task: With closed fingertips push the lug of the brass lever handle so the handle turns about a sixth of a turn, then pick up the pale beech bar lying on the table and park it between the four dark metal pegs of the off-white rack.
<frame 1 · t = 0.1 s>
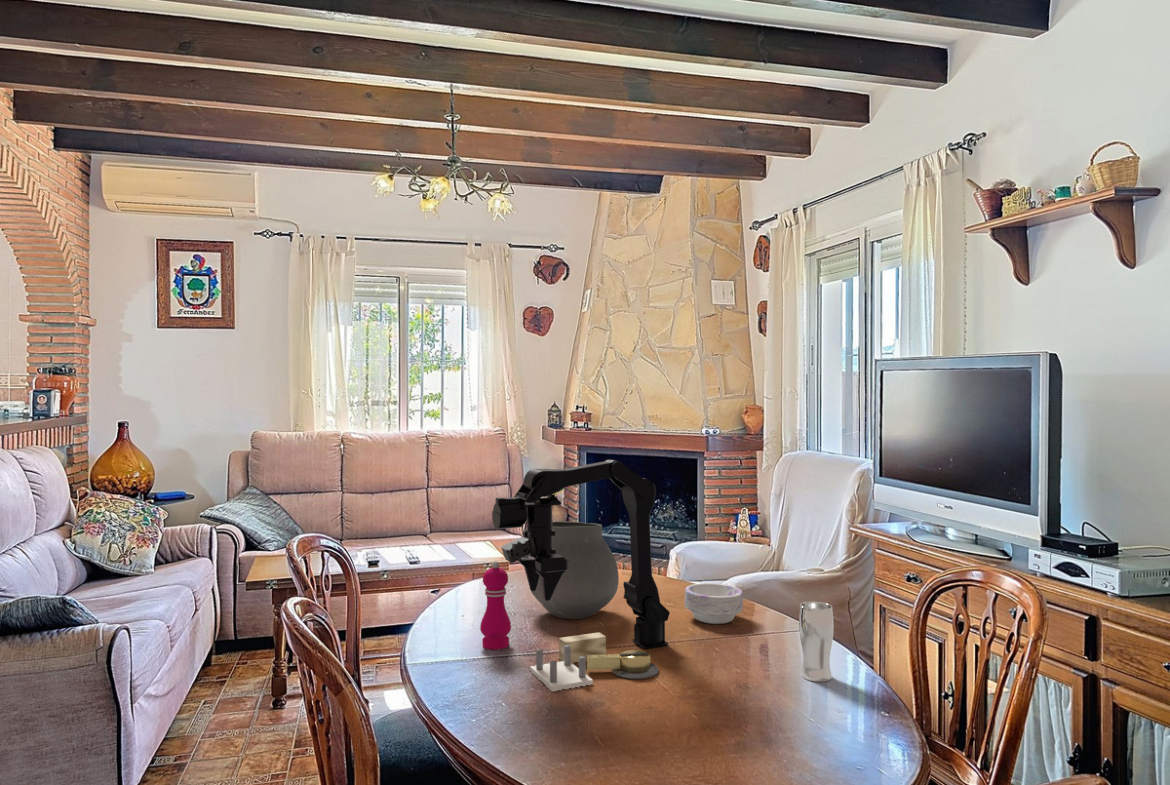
hand: (540, 595, 177), 15 cm above the table, tool pointing down, fingers open, 9 cm apart
pepper mill: (495, 646, 188), on the table
beech bar: (582, 659, 179), on the table
peg rack: (560, 677, 167), on the table
ceramic pot: (573, 615, 214), on the table
paper bowls: (713, 620, 209), on the table
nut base: (634, 671, 170), on the table
brass lever handle: (618, 660, 170), point 2 cm above the table, hinge at 0.0°
beer glass: (816, 677, 166), on the table
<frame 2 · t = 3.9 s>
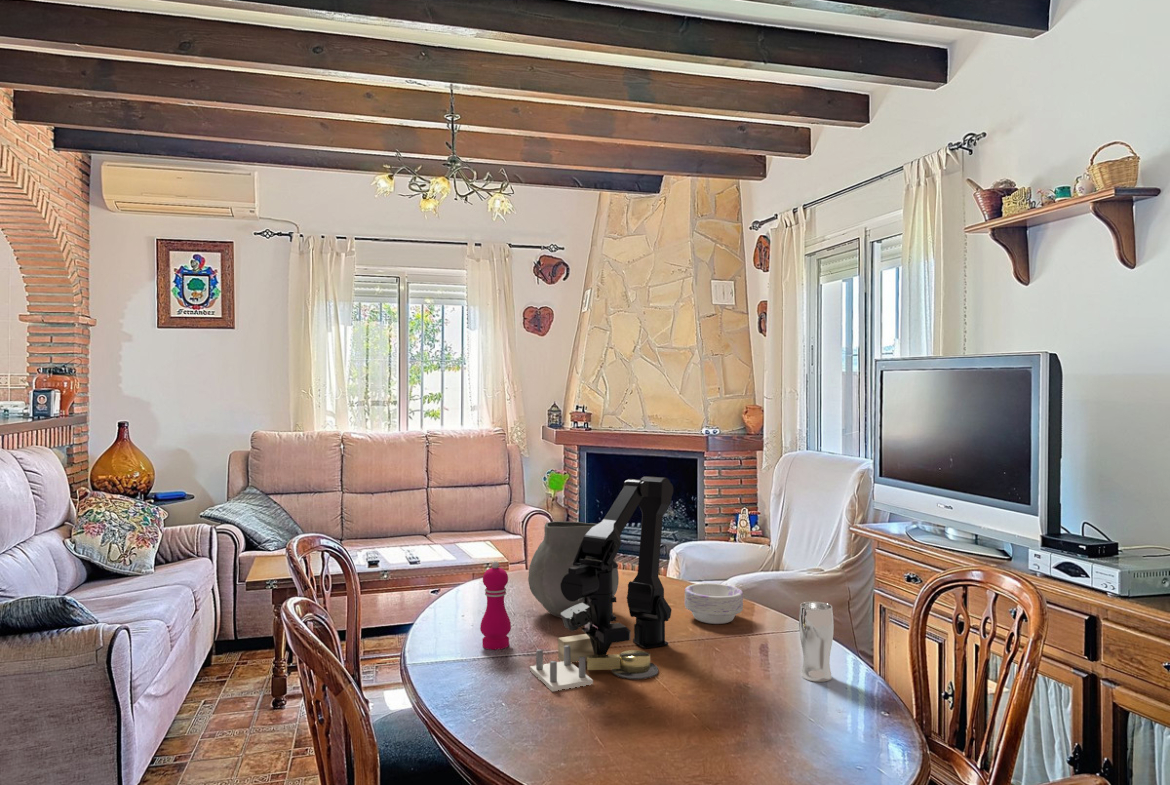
hand: (599, 663, 172), 1 cm above the table, tool pointing down, fingers closed
brass lever handle: (618, 660, 170), point 2 cm above the table, hinge at 1.0°, touching gripper
everything else where it was.
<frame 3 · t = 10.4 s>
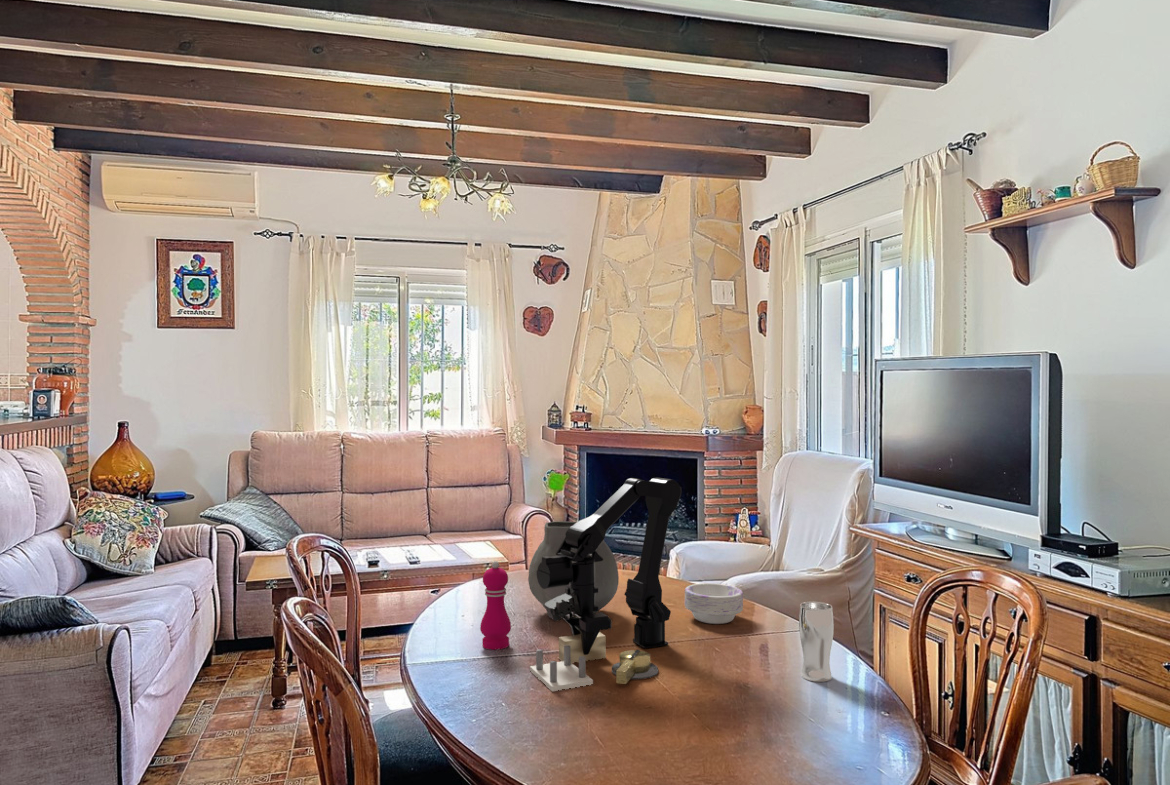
hand: (582, 651, 179), 2 cm above the table, tool pointing down, fingers closed on beech bar, 3 cm apart
beech bar: (582, 658, 179), on the table, touching gripper
brass lever handle: (630, 665, 167), point 2 cm above the table, hinge at 66.9°
everything else where it was.
when the fingers open (4 cm above the table, at t = 13.8 s): beech bar drops 1 cm, resting on peg rack.
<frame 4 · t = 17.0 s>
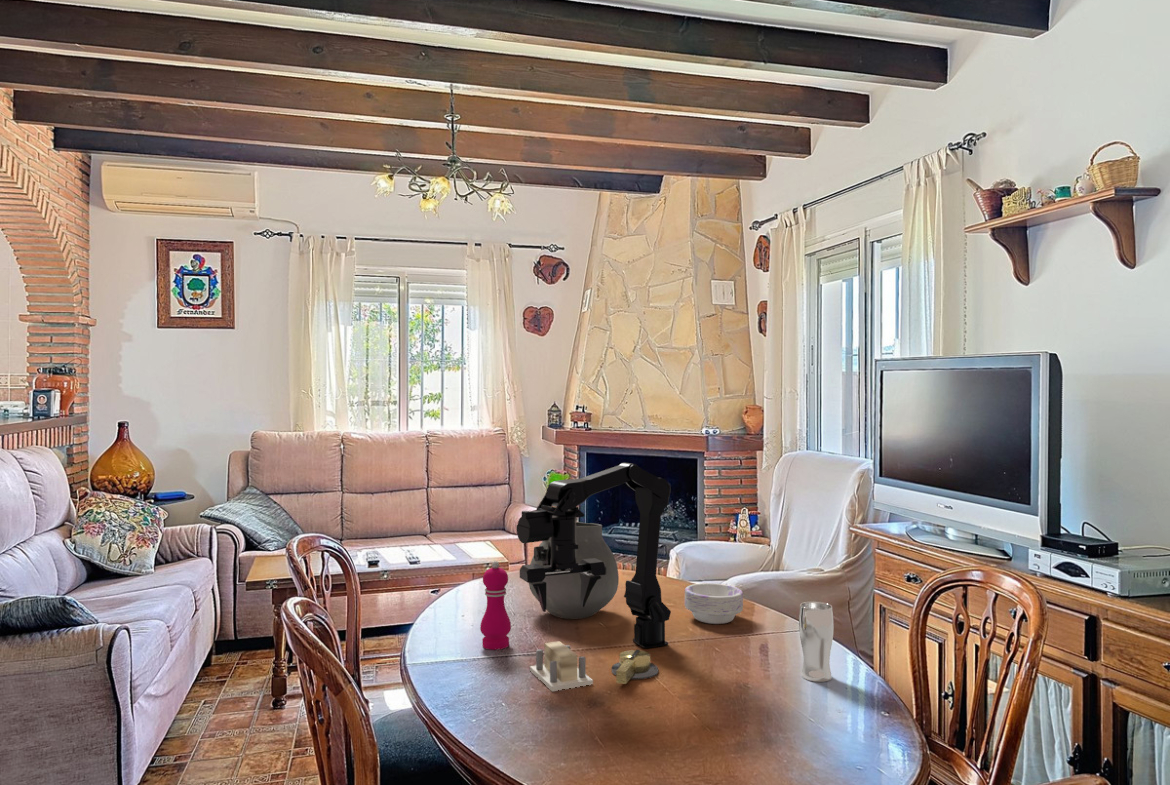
hand: (563, 608, 176), 12 cm above the table, tool pointing down, fingers open, 9 cm apart
beech bar: (560, 672, 167), point 1 cm above the table, touching peg rack
everything else where it was.
at the end: brass lever handle at +67° (first picture: +0°); beech bar 0.1 cm off-centre on the peg rack, point 1.0 cm above the peg rack's base; the gripper is holding nothing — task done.
